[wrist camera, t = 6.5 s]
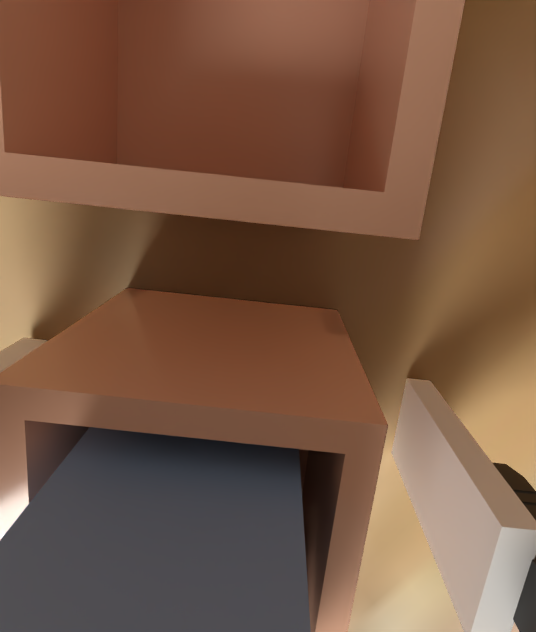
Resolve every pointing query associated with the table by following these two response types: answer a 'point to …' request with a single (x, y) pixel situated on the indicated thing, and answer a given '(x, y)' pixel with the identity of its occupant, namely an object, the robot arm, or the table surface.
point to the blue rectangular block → (160, 540)
